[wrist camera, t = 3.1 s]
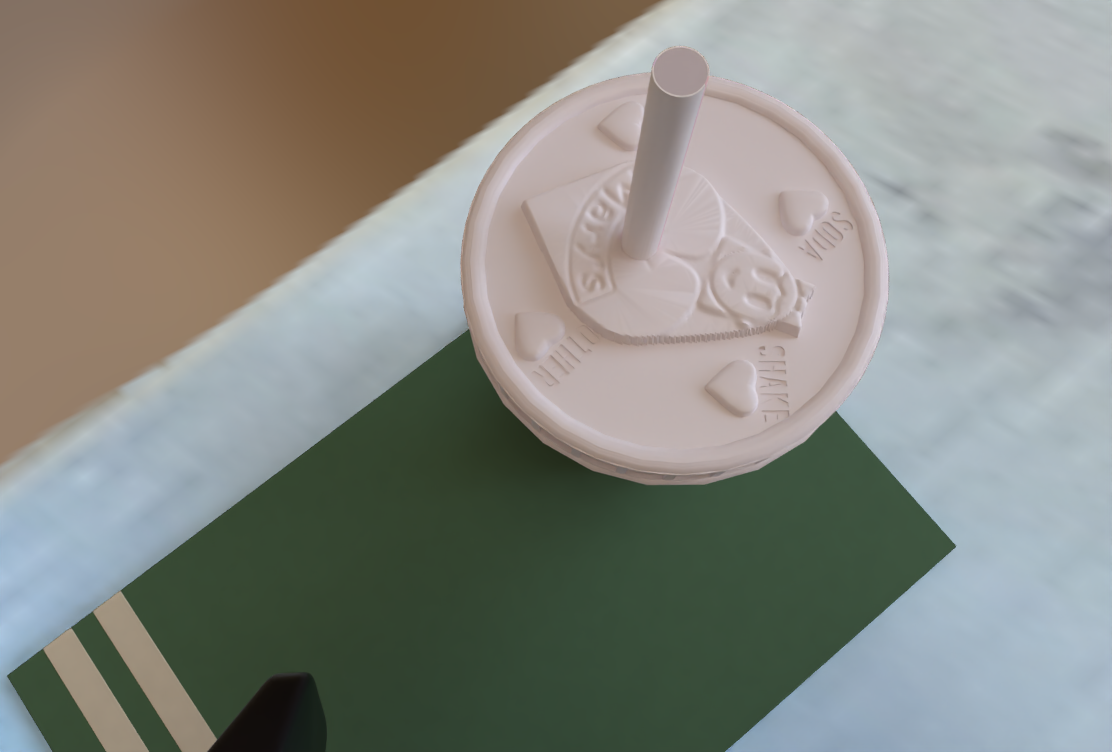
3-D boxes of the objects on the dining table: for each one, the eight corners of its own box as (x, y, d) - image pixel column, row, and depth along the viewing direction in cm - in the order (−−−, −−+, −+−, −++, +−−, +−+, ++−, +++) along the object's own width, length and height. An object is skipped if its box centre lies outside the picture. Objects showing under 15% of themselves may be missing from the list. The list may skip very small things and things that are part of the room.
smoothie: (557, 245, 23) (552, -257, 9) (783, 331, 22) (1147, -68, 8) (462, 465, 21) (282, 266, 8) (700, 563, 21) (973, 539, 7)
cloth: (289, 1134, 18) (286, 1140, 18) (12, 674, 20) (5, 675, 20) (952, 546, 21) (957, 546, 21) (644, 199, 23) (645, 196, 23)
